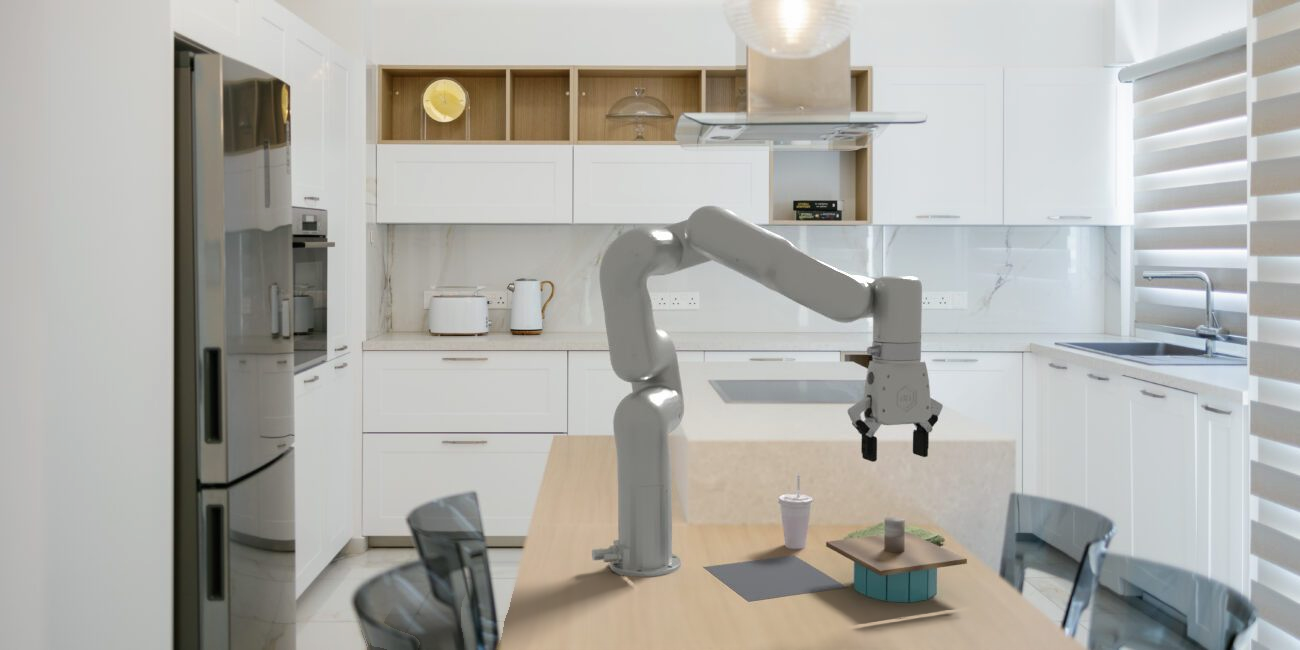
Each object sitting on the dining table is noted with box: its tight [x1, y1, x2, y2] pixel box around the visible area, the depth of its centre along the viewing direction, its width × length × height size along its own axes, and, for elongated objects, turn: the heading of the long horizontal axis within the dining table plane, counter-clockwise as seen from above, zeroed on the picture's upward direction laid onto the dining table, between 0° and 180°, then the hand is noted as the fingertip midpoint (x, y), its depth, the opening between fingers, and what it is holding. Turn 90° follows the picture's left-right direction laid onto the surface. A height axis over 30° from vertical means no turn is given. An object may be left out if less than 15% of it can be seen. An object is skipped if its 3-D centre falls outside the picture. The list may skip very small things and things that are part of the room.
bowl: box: [852, 561, 938, 603], centre depth 155 cm, size 13×13×6 cm
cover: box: [825, 516, 968, 576], centre depth 154 cm, size 16×16×6 cm
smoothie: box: [778, 474, 814, 550], centre depth 177 cm, size 6×6×14 cm
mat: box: [703, 554, 848, 603], centre depth 161 cm, size 18×18×1 cm
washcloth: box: [842, 521, 946, 546], centre depth 179 cm, size 13×18×3 cm
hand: (895, 457), depth 153 cm, fingers open, 9 cm apart
